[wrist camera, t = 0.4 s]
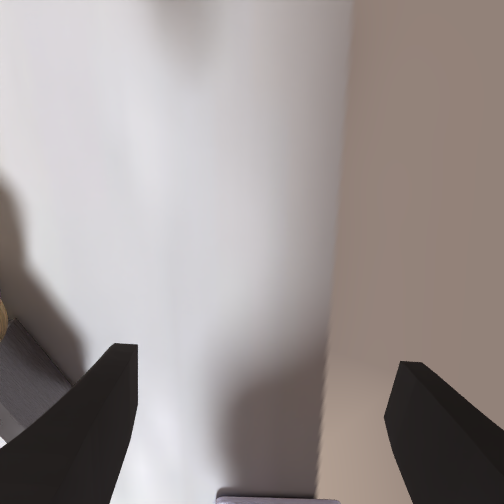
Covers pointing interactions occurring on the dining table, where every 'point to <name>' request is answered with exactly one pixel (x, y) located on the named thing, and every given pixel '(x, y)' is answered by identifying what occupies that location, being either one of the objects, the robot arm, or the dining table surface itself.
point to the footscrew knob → (24, 379)
